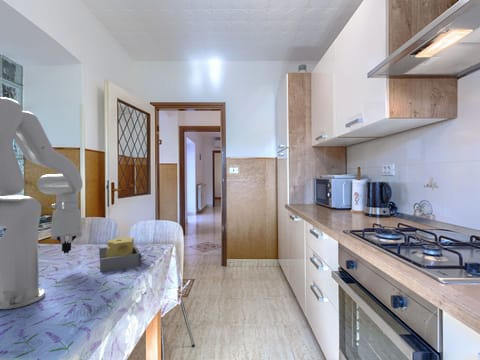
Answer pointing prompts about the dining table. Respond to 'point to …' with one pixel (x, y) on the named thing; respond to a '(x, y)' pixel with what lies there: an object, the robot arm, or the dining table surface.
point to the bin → (118, 260)
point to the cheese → (120, 247)
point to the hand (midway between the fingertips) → (66, 252)
